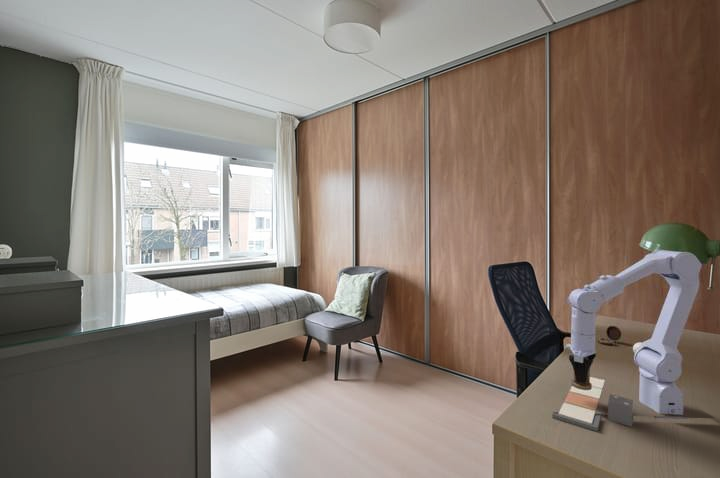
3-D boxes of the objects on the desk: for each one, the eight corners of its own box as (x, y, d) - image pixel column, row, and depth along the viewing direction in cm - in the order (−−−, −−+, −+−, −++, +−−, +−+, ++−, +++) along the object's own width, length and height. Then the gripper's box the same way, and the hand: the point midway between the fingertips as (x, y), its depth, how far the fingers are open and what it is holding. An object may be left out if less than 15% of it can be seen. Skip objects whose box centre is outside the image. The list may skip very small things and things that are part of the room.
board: (597, 431, 87) (597, 426, 87) (552, 417, 94) (552, 412, 93) (610, 384, 112) (610, 380, 112) (573, 376, 119) (573, 372, 119)
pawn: (595, 390, 97) (596, 358, 97) (577, 389, 97) (577, 357, 97) (585, 382, 102) (586, 352, 102) (568, 382, 102) (568, 351, 102)
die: (631, 426, 89) (632, 407, 89) (607, 419, 92) (608, 400, 92) (632, 418, 93) (633, 399, 93) (609, 412, 96) (610, 393, 96)
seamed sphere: (652, 357, 135) (652, 342, 135) (649, 361, 131) (650, 346, 131) (627, 351, 141) (628, 338, 140) (624, 355, 137) (625, 341, 137)
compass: (594, 341, 153) (594, 325, 153) (608, 340, 155) (608, 323, 155) (611, 348, 145) (612, 330, 145) (626, 346, 148) (626, 329, 147)
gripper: (571, 324, 107) (570, 367, 108) (561, 335, 96) (560, 384, 97) (599, 328, 103) (598, 374, 103) (592, 341, 91) (591, 392, 92)
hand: (582, 379), depth 100 cm, fingers closed on pawn, 4 cm apart
